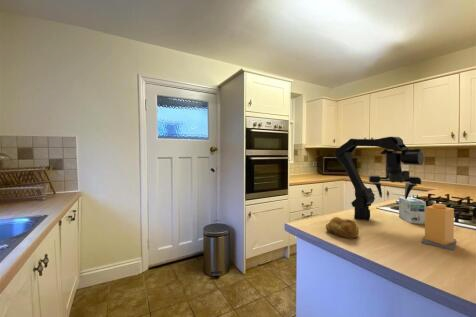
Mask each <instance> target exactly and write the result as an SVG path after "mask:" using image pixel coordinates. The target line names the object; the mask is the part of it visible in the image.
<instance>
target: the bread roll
mask: <svg viewBox="0 0 476 317" xmlns="http://www.w3.org/2000/svg"><path fill="white" fill-rule="evenodd" d="M325 230H326V231H327V232H328V233H330V234H333V235H336V236H338V237H340V238H344V239H348V238H349V239H350V240H351V239H355V238H356V237H358V235H359V226H358V225H357V223H356V222H355V221H354V220H352V219H348V218H345V219H343V218H341V217H337V216H334V217H333V218H331V219H330V220H329V222H328V223H327V224H326V225H325Z"/></svg>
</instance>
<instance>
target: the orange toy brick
mask: <svg viewBox="0 0 476 317" xmlns="http://www.w3.org/2000/svg"><path fill="white" fill-rule="evenodd" d="M454 224H455V208H452V207H447V205H446V204H443V203H432V205H428V206H427V205H426V207H425V224H424V237H425V239H427V240H430V241H433V242H436V243H440V244H443V245H446V244H449V243H452V242H454V239H455V238H454V236H455V235H454V234H455V233H454V232H455V230H454V228H455V225H454Z"/></svg>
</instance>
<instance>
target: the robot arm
mask: <svg viewBox="0 0 476 317" xmlns="http://www.w3.org/2000/svg"><path fill="white" fill-rule="evenodd" d="M357 147H378V148H381V149H384V150H382V151H381V152H380V155H385V176H379V175H373V174H372V175H371V174H370V175H369V176H368V182H369V183H371V184H373V185H375V187H376V189H377V191H378V194H379V196H380V198H381V199H382V198H383V193H382V187H381V186H382V183H381V182H390V183H400V184H401V183H405V186H404V197H405V199H407V197H409V195H410V192H411V191H412V189H413V188H414V187H417V186H418V185H422V178H421V177H419V176H414V175H413V176H412V175H410V171H409V170H403V169H402V164H403V165H406V166H407V165H409V166H410V165H411V166H423V165H424V162H425V156H424V154H423V152H422V148H414V149H413V148H412V149H411V148H410V149H409V148H408V147H407V146H406V144H405V143H404V140H403V139H402V138H401V137H400V136H386V137H380V138H350V139H349V140H348V141H346V142H345V143H344V144H342V145H341V146H339V147H338V148H336V149H335V151H334V154H333V155H334V156H335V158H336V160H337V161H338V163H339V162H340V164H342V165H343V167H344V169H345V172H346V174H347V175H348V178H349V179H350V182H351V184H352V186H353V188H354V197H355V199H354V200H353V201H352V202H351V206H352V207H353V208H354V213H353V214H354V215H353V217H354V219H355V220H362V221H370V219H371V209H370V207H371V206H372V204H373V203H374V202H375V200H376V198H375V196H376V195H375V193H374V192H373V190H372V188H371V187H369V188H368V187H366V185H365V183H364V182H363V180H362V178H361V176H360V174H359V172H358V170H357V168H356V166H355V164H354V162H353V154H352V153H353V152H354V151H356V148H357ZM402 170H403V171H402Z"/></svg>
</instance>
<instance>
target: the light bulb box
mask: <svg viewBox="0 0 476 317" xmlns="http://www.w3.org/2000/svg"><path fill="white" fill-rule="evenodd" d="M425 207H427V202H426V201H424V200H421V199H418V198H415V197H411V196H408V197H407V199H405V196H398V217H399V218H400V219H402V220H404V221H406V222H407V223H410V224H416V225H417V224H422V225H423V224H424V225H425Z"/></svg>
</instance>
